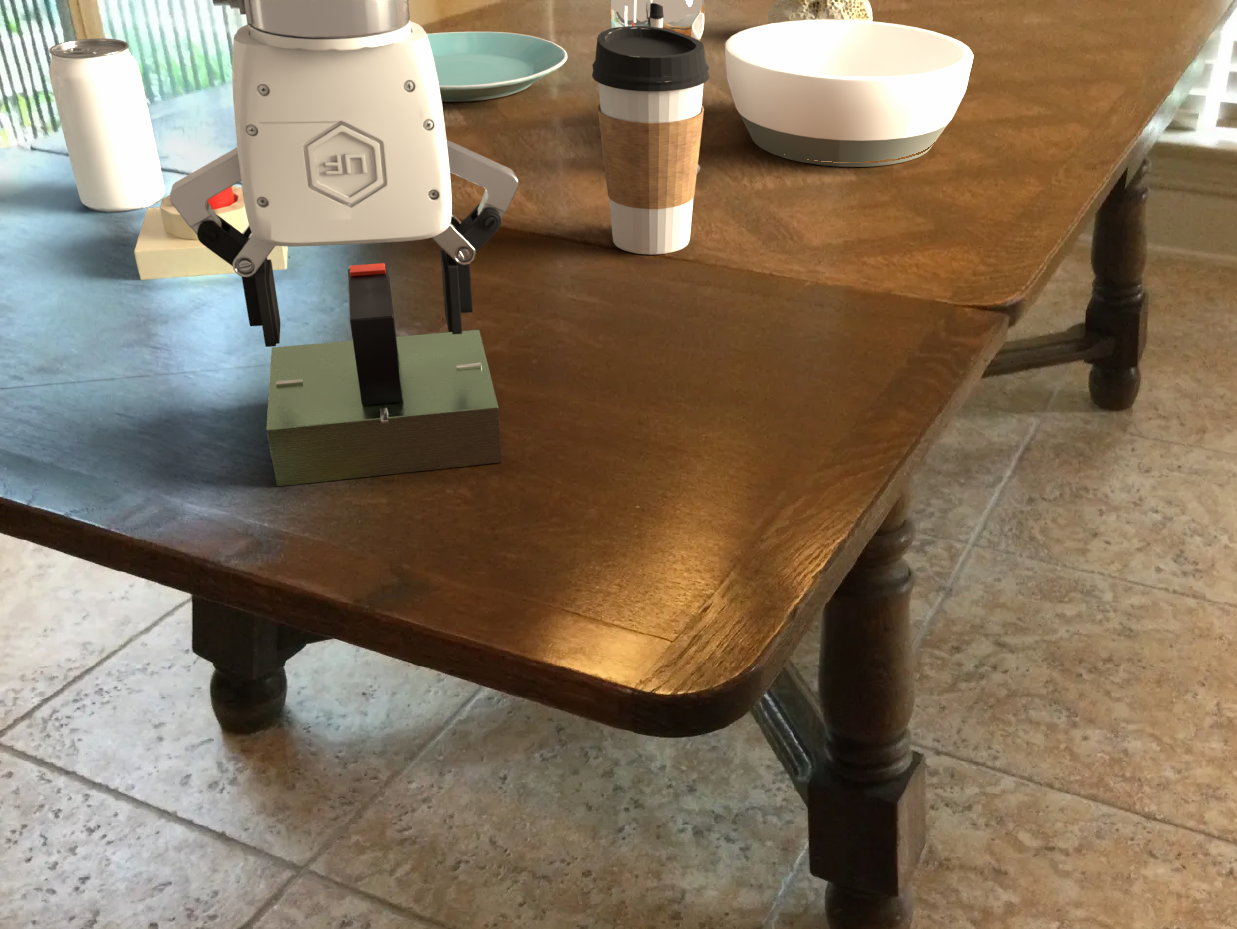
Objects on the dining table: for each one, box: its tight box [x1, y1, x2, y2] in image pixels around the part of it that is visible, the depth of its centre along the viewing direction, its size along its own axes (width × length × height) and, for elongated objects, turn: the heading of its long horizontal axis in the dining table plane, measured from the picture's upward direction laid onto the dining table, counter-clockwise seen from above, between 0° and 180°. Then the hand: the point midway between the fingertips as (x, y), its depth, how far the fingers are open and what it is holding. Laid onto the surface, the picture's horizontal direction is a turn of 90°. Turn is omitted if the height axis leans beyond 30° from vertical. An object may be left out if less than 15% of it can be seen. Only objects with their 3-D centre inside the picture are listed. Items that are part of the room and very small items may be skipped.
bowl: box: [724, 20, 974, 168], centre depth 120 cm, size 22×22×8 cm
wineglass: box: [609, 0, 706, 178], centre depth 108 cm, size 8×8×20 cm
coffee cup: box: [591, 26, 710, 256], centre depth 96 cm, size 8×8×15 cm
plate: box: [426, 31, 568, 103], centre depth 136 cm, size 22×22×3 cm
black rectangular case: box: [347, 262, 403, 405], centre depth 71 cm, size 7×2×5 cm, turn 14°
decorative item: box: [767, 0, 873, 24], centre depth 154 cm, size 12×9×10 cm
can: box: [48, 37, 166, 213], centre depth 102 cm, size 6×6×12 cm
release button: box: [208, 186, 235, 210], centre depth 94 cm, size 4×4×2 cm
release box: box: [133, 185, 289, 281], centre depth 96 cm, size 10×9×4 cm
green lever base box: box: [265, 329, 503, 487], centre depth 74 cm, size 12×11×4 cm
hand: (364, 330), depth 71 cm, fingers open, 9 cm apart
